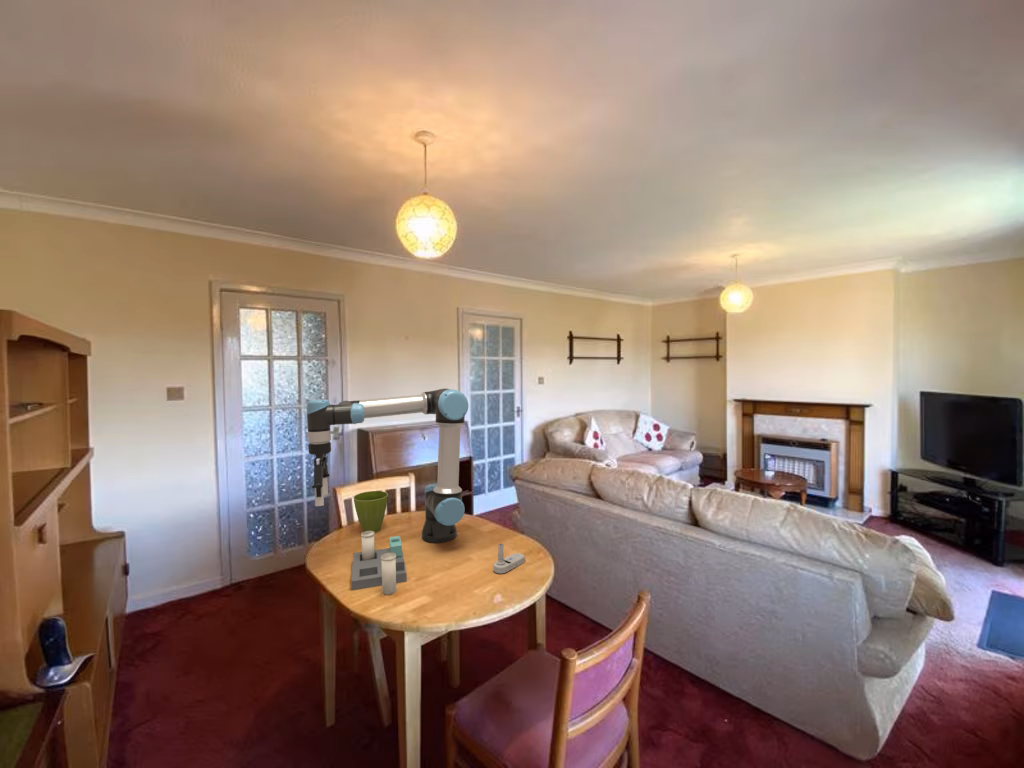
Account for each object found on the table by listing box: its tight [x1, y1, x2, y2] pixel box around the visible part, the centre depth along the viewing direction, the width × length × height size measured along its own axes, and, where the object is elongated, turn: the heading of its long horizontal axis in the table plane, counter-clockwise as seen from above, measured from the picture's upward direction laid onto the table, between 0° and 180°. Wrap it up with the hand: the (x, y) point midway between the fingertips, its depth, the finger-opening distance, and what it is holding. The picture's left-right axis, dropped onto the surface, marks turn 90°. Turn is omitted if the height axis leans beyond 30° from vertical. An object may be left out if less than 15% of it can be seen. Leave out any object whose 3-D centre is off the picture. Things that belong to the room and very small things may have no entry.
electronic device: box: [493, 543, 526, 574], centre depth 165 cm, size 5×10×15 cm
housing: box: [350, 547, 408, 591], centre depth 163 cm, size 18×24×6 cm
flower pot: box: [353, 490, 389, 533], centre depth 203 cm, size 15×15×16 cm
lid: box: [389, 535, 403, 557], centre depth 172 cm, size 4×10×5 cm, turn 18°
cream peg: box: [381, 553, 397, 596], centre depth 148 cm, size 5×5×12 cm
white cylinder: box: [360, 531, 376, 561], centre depth 168 cm, size 5×5×12 cm
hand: (322, 500), depth 163 cm, fingers open, 13 cm apart
